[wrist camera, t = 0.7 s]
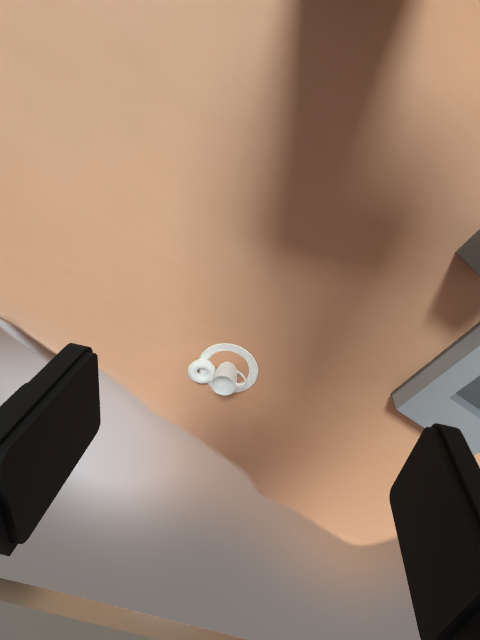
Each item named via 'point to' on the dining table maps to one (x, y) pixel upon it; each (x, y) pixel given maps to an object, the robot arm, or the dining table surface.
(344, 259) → the dining table surface
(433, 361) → the outlet box
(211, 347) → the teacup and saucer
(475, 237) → the charger
